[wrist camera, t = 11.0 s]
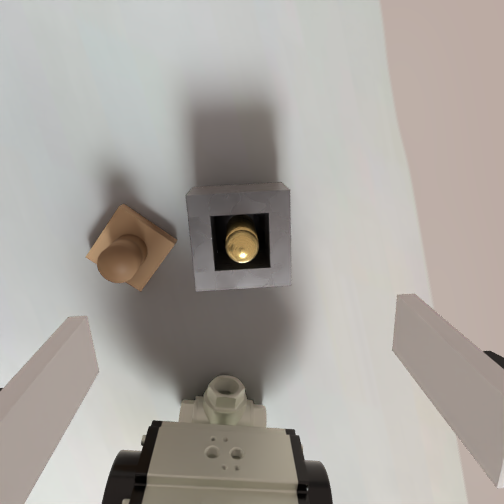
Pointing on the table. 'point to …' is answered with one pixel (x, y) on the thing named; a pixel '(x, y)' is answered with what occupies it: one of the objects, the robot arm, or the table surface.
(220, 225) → the door knob
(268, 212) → the grey square box
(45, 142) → the table surface
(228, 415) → the ball valve
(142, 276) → the brown knob on base
